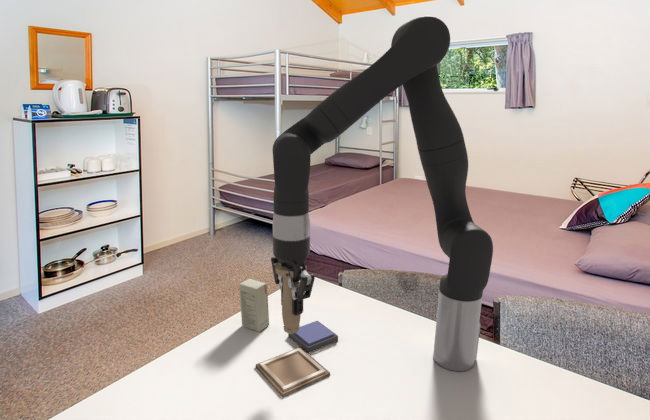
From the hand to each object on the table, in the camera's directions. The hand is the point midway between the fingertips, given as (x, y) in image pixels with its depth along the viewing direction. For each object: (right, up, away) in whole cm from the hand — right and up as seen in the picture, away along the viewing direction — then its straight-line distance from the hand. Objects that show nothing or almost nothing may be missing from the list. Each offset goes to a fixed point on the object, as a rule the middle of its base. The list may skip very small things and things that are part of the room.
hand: (291, 309), depth 91 cm
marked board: (0, -15, +4) cm, 15 cm away
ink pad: (+4, -11, +17) cm, 20 cm away
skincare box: (-11, -10, +22) cm, 27 cm away
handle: (0, -5, +1) cm, 5 cm away
